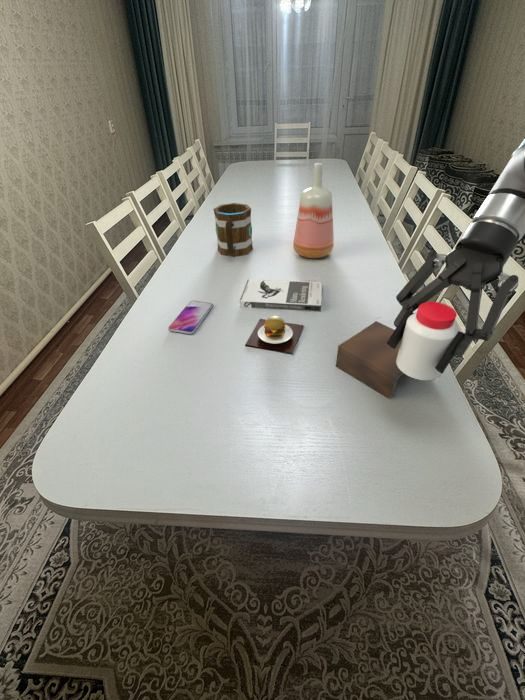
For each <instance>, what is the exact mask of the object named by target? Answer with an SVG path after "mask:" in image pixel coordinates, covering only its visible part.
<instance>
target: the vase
mask: <svg viewBox="0 0 525 700" xmlns="http://www.w3.org/2000/svg"><path fill="white" fill-rule="evenodd" d="M334 231H335V230H334V212H333V195H332V192H331V191H330V190H329V189H327V188H325V187H323V163H322V162H315V163H314V164H313V175H312V185H311V187H308V188H305V189H304V190H303V191H302V192H301V195H300V199H299V205H298V211H297V216H296V222H295V229H294V236H293V242H292V246H293V250H294V252H295V253H296V254H297V255H299V256H301V257H302V258H306V259H319V258H324V257H326V256H328V255H330V254H331V253H332V251H333V250H334V246H335V233H334Z"/></svg>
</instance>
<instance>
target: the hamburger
mask: <svg viewBox="0 0 525 700" xmlns="http://www.w3.org/2000/svg"><path fill="white" fill-rule="evenodd" d="M303 329H304V325H303V324H298V323H290V322H285V320H284V319H283V318H282V317H281V316H278V315H272V316H269V317H267V318H266V319H265V318H259V320H258V321H257V323H256V325H255V327H254V329H253V330H252V332H251V334H250V335H249V336H248V339H247V341H246V342H245V344H244V346H245V347H249V348H254V349H260V350H265V351H271V352H276V353H283V354H289V355H293V354H294V352H295V349H296V347H297V345H298V341H299V339H300V336H301V334H302V331H303Z"/></svg>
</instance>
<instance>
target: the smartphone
mask: <svg viewBox="0 0 525 700" xmlns="http://www.w3.org/2000/svg"><path fill="white" fill-rule="evenodd" d="M213 307H214V304H213V303H211V302H206V301H199V300H190V301H189V302H188V303H187V305H186V306H185V307H184V308H183V309H182V310H181V311H180V313H179V314H178V315H177V316H176V318H175V319H174V320H173V321H172V322H171V324H170V325H169V326H168V327H167V329H168V331H170V332H173V333H175V332H176V333H180V334H187V335H193V334H194V333H195V332H196V331H197V329H198V328H199V326H200V325H201V324H202V322H203V321H204V320H205V319H206V317H207V316H208V314H209V313H210V311H211V310H212V308H213Z"/></svg>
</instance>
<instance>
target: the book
mask: <svg viewBox="0 0 525 700" xmlns="http://www.w3.org/2000/svg"><path fill="white" fill-rule="evenodd" d="M322 290H323V282H322V281H307V280H287V279H266V278H265V279H264V278H248V279H247V281H246V283H245V286H244V289H243V291H242V294H241V296H240V299H239V308H249V309H250V308H251V309H266V310H267V309H268V310H283V311H285V310H286V311H301V312H302V311H303V312H304V311H305V312H318V313H319V312H320V313H321V312H322V293H323V291H322Z"/></svg>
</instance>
